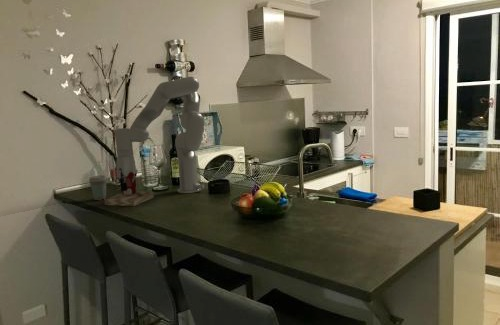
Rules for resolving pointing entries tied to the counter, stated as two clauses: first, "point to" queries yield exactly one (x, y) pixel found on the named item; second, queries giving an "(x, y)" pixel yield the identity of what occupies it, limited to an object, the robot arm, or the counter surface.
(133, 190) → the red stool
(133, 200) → the tray
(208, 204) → the counter surface
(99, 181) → the coffee cup
